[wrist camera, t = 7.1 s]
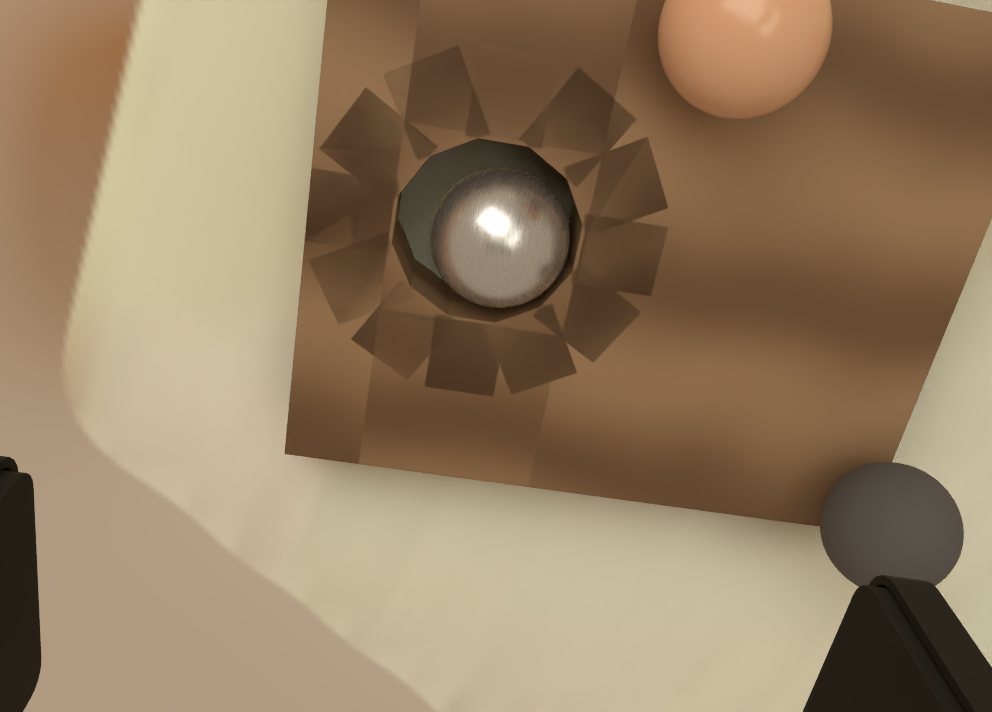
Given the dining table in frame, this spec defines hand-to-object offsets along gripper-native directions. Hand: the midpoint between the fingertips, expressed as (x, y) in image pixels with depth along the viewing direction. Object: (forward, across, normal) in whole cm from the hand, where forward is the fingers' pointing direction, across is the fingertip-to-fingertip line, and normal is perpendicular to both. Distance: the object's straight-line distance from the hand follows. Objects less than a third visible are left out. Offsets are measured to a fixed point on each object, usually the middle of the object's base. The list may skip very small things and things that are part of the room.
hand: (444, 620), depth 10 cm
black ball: (+14, -14, +7) cm, 22 cm away
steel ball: (+17, -1, +1) cm, 17 cm away
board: (+19, -5, +1) cm, 20 cm away
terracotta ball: (+15, -6, -6) cm, 17 cm away
